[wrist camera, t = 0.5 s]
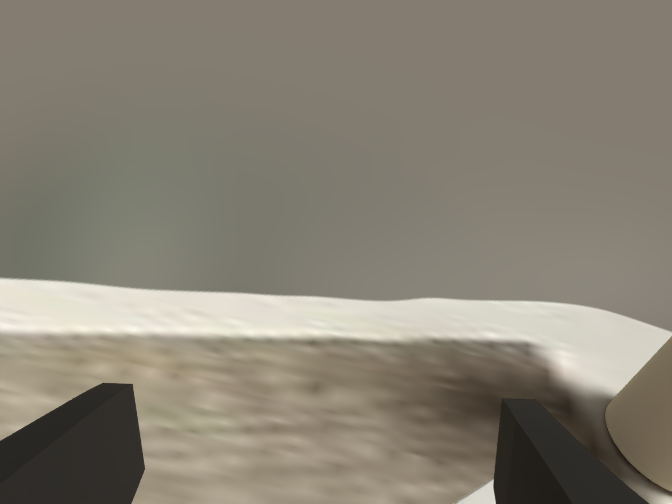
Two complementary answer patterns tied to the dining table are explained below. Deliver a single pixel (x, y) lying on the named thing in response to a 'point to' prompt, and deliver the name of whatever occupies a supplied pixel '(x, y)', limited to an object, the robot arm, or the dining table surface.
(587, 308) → the dining table surface
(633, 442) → the travel mug
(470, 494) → the supplement box
